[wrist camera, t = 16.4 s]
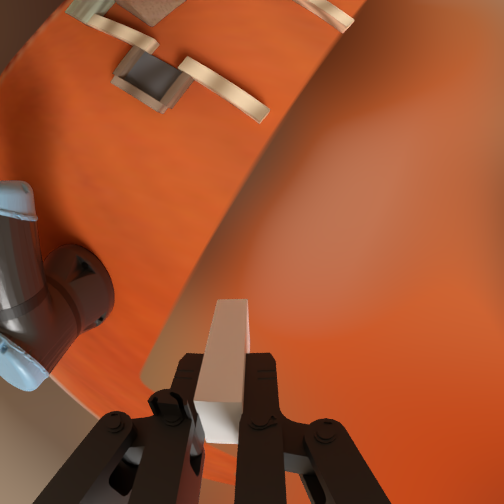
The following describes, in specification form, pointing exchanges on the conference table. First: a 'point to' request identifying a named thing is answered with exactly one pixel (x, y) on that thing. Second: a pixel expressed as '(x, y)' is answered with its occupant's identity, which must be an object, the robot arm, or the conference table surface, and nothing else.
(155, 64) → the tray
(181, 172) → the conference table surface
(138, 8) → the wooden block
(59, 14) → the conference table surface
